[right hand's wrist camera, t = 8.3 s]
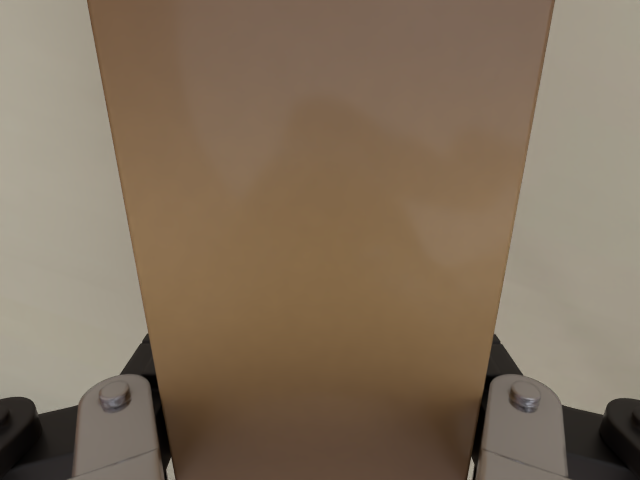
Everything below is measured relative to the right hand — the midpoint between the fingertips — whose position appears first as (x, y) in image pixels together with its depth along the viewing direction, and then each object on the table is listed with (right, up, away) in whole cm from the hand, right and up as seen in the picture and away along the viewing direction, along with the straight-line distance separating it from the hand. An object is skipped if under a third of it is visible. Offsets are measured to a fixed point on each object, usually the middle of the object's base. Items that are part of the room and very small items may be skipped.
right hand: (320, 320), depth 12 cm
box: (0, +10, +2) cm, 10 cm away
